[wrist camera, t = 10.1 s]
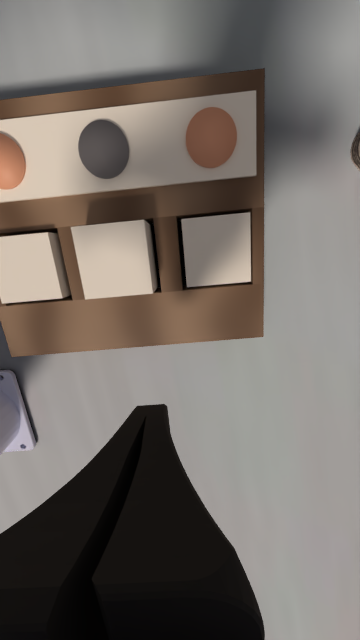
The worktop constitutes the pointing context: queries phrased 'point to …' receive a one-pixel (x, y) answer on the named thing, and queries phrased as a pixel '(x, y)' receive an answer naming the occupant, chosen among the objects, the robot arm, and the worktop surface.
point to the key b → (116, 259)
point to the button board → (164, 211)
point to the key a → (32, 268)
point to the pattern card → (128, 147)
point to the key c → (217, 249)
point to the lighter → (356, 151)
